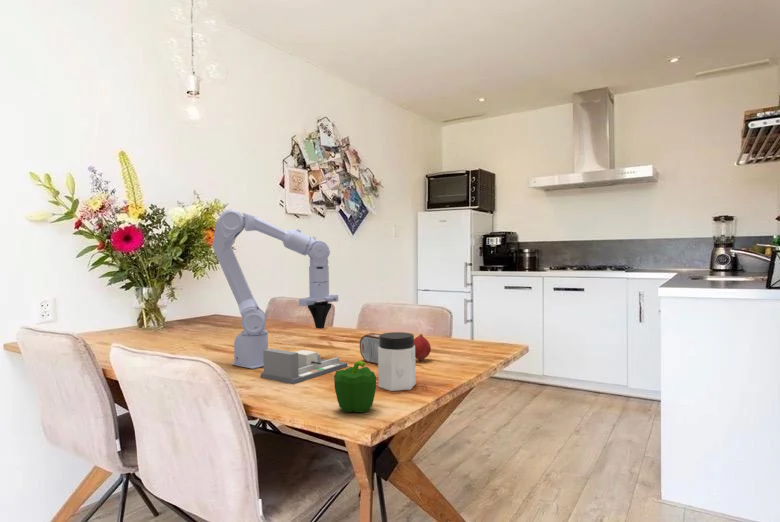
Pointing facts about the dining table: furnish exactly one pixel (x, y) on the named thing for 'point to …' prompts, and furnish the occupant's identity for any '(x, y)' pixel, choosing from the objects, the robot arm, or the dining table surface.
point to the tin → (370, 347)
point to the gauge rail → (295, 366)
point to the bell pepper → (355, 388)
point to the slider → (306, 358)
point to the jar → (396, 361)
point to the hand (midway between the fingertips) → (319, 328)
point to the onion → (421, 347)
